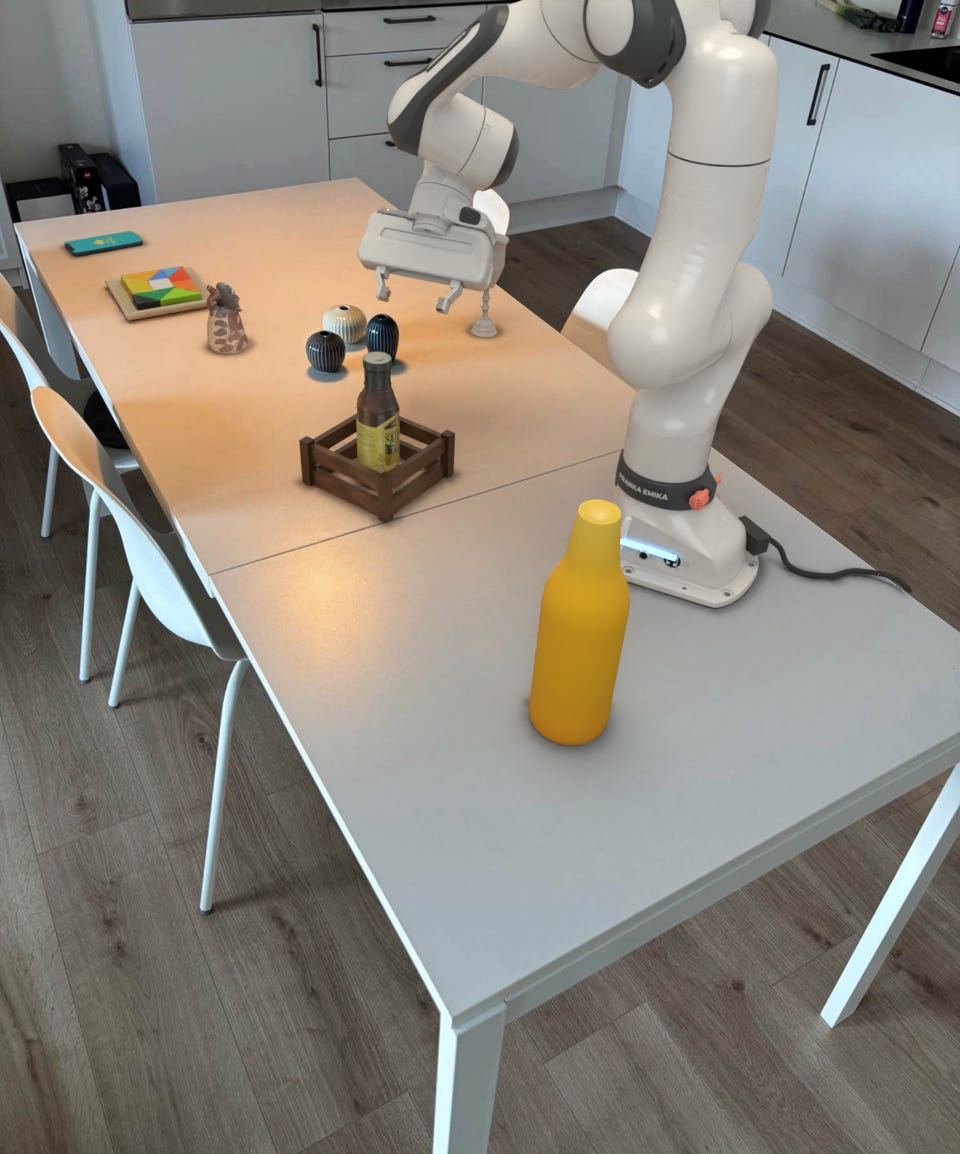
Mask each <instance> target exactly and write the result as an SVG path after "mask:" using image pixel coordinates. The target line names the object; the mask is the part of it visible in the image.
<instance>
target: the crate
mask: <svg viewBox="0 0 960 1154" xmlns="http://www.w3.org/2000/svg"><path fill="white" fill-rule="evenodd" d="M356 417H357V412H356V413H354V414H352V415H351V416H349V417H348V418H346V419H344V420H343V421H341V422H339V423H338V424H335V425H334V426H333V427H331V428H329V429H328V430H326V431H324V432H322V433H321V434H319V435H318V436H316V437H314V438H313V437H311V436H308V435H305V436H304V437H302V438H300V439H299V440H298V442H299V454H300V469H301V479H302V480H301V481H302V484H304V485H306V486H309V487H312V486H315V487H317V488H318V489H321V490H324V491H325V492H328V493H329V494H331V495H334V496H336V497H337V498H340V499H342V500H343V501H346V502H348V503H351V504H353V505H355V506H357V507H359V508H361V509H363V510H365V511H367V512H369V513H371V514H373V515H375V516H377V519H378V520H379V521H382V522H384V523H385V524H387V523H389V522H390V521H391V520H393V519H394V515H395V514H396V513H397V512H398V511H400V510H401V509H403V508H404V507H405V506H407V505H408V504H409V503H412V502H413V501H414V500H416V498H419V496H421V495H422V494H424V493H425V492H426V491H428V490H429V489H431V488H432V487H434V486H435V485H436V484H438V483H439V482H441V481H442V480H443V479H444V478H445V479H449V478H450V477H451V478H452V476H453V475H454V473H455V452H456V451H455V450H456V447H455V446H456V433H455V432H454V431H451V430H449V429H445V430H443V431H442V432H440V431H437V430H435V429H433V428H430V427H429V426H425V425H423V424H421V423H418V422H415V421H413V420H411V419H408V418H406V417H404V416H401V415H400V435H402V436H405V437H408V438H410V439H412V440H415V441H416V442H419V443H421V444H424V445H426V446H425V447H424V448H421V447H418V446H416V445H414V444H412V443H409V442H406V441H404V440H402V439H400V456H399V459H402V460H404V461H403V462H401V463H399V465H398V466H397V467H395V468H394V469H392V470H391V471H389V472H388V473H387V472H385V471H384V472H382V473H379V472H377V471H375V470H373V469H371V468H368V467H366V466H364V465H362V464H360V463H358V461H355V460H354V459H357V437H355V438H354V439H352V440H350V441H349V442H346V443H345V444H344V445H342V446H341V447H338V448H337V449H335V450H331V448H333V447H335V446H336V445H338V444H339V443H341V442H342V441H344V440H346V439H348V438H350V437H351V436H353V435H355V434H357V420H356ZM422 469H425V471H424V472H422V473H421V474H419V475H418V476H416V477H415V478H413V479H412V480H410V481H409V482H407V483H406V484H405V485H403V486H402V487H400V488H399V489H398V490H396V491H395V492H394V489H395V488H396V487H398V486H400V485H401V484H403V483H404V482H406V481H407V480H408V479H410V478H411V477H412V476H414V475H415V474H417V473H418V472H419V471H422ZM335 472H336V473H339V474H341V475H343V476H345V477H348V478H349V479H352V480H353V481H355V482H358V483H360V484H362V485H364V484H365V485H364V486H366V485H367V486H366V487H368V486H369V487H368V488H371V489H373V490H375V491H377V495H376V494H374V493H372V492H370V491H368V490H366V489H363V488H361V487H359V486H357V485H355V484H353V483H351V482H349V481H347V480H344V479H342V478H340V477H338V476H336V475H334V474H332V473H335Z"/></svg>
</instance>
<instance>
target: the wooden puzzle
mask: <svg viewBox="0 0 960 1154" xmlns="http://www.w3.org/2000/svg"><path fill="white" fill-rule="evenodd" d="M104 284H105V285H106V286H107V288H108V290H109V291H110V293H111V295H112V296H113V298H114V300H115V301H116V304H117V305H118V306H119V308H120V310H121V311H122V313H123V315H124V317H125V318H126V319H127V321H134V320H139V319H146V318H151V317H157V316H162V315H163V316H164V315H168V314H174V313H181V312H185V311H191V310H197V309H203V308H207V298H208V296H209V295H210V294H211V293H210V292H209V291H208V290H206V285H205V284H204V282H203V281H202V280H201V278H200V277H199V275H198V274H197V273H196V271H195V270H194V268H193V267H192V266H186V267H185V266H183V265H179V266H173V267H166V268H159V269H152V270H147V271H141V272H133V273H127V274H121V275H120V277H114V278H109V279H105V280H104ZM215 304H216V301H214V302H212V303H211V307H213V306H214V305H215Z"/></svg>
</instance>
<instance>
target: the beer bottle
mask: <svg viewBox="0 0 960 1154" xmlns="http://www.w3.org/2000/svg"><path fill="white" fill-rule="evenodd" d="M576 511H577V512H576V515H575V518H574V522H573V526H572V529H571V534H570V537H569V540H568V544H567V547H566V551H565V554H564V556H563V557H562V558H561V559H560V560H559V561H558V563H557V564H556V565H555V567H554V568H553V569H552V571H551V572H550V574H549V576H548V577H547V580H546V582H545V584H544V587H543V589H542V595H541V599H540V608H539V618H538V626H537V633H536V634H537V636H536V644H535V652H534V661H533V669H532V678H531V686H530V693H529V697H528V698H529V700H528V714H529V719H530V722H531V723H532V725H533V727H534V728H535V730H536V731H537V732H538V733H539V734H540V735H541V736H542V737H544V738H546V739H547V740H549V741H551V742H553V743H556V744H558V745H564V746H580V745H584V744H585V745H586V744H587V743H590V742H592V741H594V740H596V739H597V738H598V737H600V736H601V735H602V733H603V732H604V731H605V729H606V728H607V725H608V722H609V720H610V717H611V711H612V701H613V697H614V693H615V687H616V682H617V676H618V672H619V666H620V661H621V656H622V652H623V651H622V650H623V647H624V640H625V635H626V630H627V625H628V620H629V616H630V609H631V595H630V588H629V584H628V581H627V580H626V578H625V575H624V573H623V570H622V568H621V565H620V538H621V511H620V509H619V508H618V507H617V506H616V505H615V504H613V503H612V501H608V500H605V499H599V498H598V499H596V498H595V499H588V500H586V501H582V503H581V504H579V506H578V508H577V510H576Z"/></svg>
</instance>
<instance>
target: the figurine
mask: <svg viewBox="0 0 960 1154" xmlns="http://www.w3.org/2000/svg"><path fill="white" fill-rule="evenodd" d="M205 287H206V290H208V291H209V292H210V293H211V294H210V295H209V296H208V298H207V307H206V308H207V311H208V317H207V325H206V329H207V330H206V337H207V344H208V347H209V349H210V350H211V351H212V352H213V353H216V354H219V355H237V354H240V353H242V352H243V351H245V350H246V348H248V347H249V345H250V344H249V340H248V336H247V333H246V330H245V327H244V324H243V321H242V317H241V315H240V313H241V312H243V308H242V307H241V306H240V303H239V302H240V299H241V298H240V297H239V296H238V295H237V294H236V291H235V289H234V288H233V287H232V286H231V285H229V284H228V283H226V282H224V281H219V282H217V283H216V285H215V287H214V286H213V285H211V284H207V285H205ZM214 301H216V304H215V305H214V306H211V303H212V302H214Z"/></svg>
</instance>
